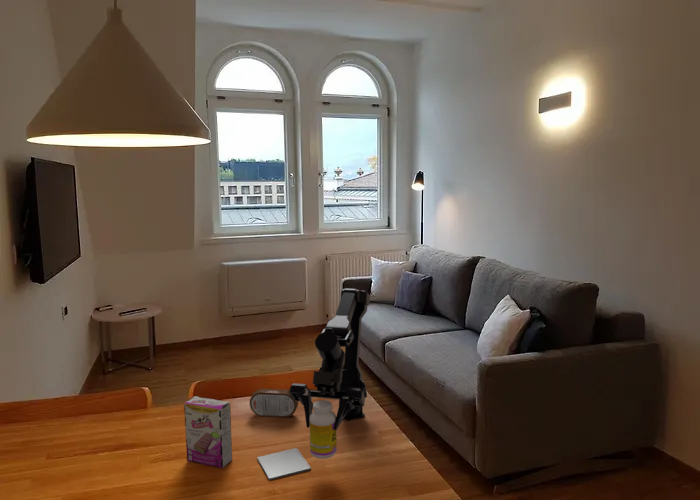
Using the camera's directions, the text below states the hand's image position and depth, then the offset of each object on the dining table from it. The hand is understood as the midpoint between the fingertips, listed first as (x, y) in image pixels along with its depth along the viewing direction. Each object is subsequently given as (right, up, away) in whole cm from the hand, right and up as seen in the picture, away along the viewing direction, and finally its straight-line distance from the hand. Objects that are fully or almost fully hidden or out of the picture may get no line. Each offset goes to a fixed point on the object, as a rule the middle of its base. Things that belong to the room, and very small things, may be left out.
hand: (321, 428), depth 129 cm
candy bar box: (-30, -12, +9) cm, 34 cm away
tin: (-17, -8, +35) cm, 40 cm away
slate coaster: (-10, -12, +8) cm, 17 cm away
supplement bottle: (0, -7, +2) cm, 7 cm away
